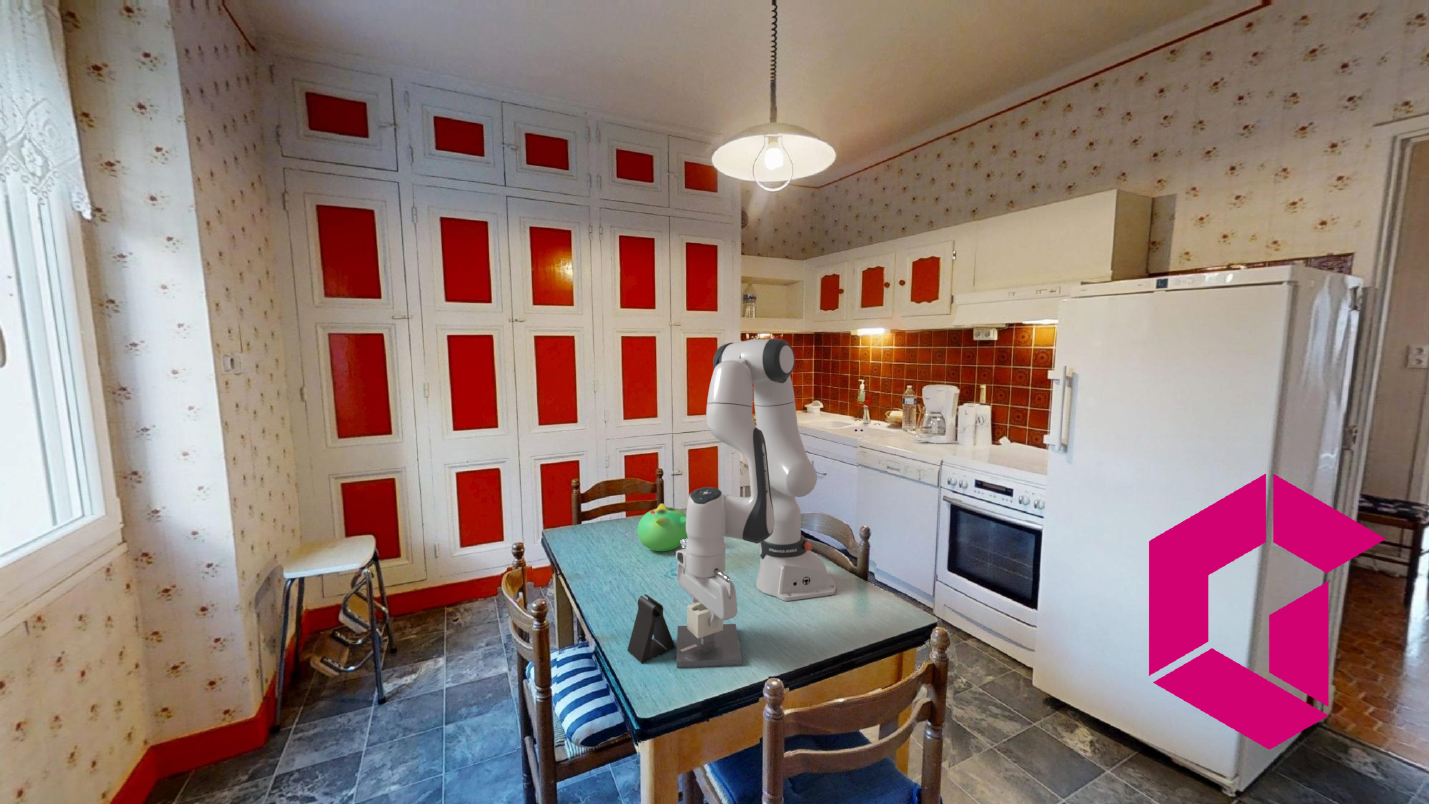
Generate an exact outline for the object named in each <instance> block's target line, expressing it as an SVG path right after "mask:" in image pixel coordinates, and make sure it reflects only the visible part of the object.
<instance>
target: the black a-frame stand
mask: <svg viewBox="0 0 1429 804" xmlns="http://www.w3.org/2000/svg"><path fill="white" fill-rule="evenodd" d="M636 612H637V613H636V617H635V620H634V624H633V626H632V631H631V636H630V639H629V643H628V646H627V649H626V650H627V652H628V653H629V654H631V655H632V657H634V658H635V659H636V660H637V661H638V662H640V663H641V664H645V663H647V662H649V661H651V660H653V659H656V658H658V657H659V656H662V655H665V654H666V653H669V652H671V651H672V650H675V648H676V644H675V643H674V640H673V637H672V635H671V632H670V629H669V627H668V624H667V622H666V620H665V616H664V606H663V604H661V603H660V602H658V601H657V600H655V599H654V598H652V597H651V596H649V595H648V594H646V593H645V594H644V596H643V595H640V596H639V597H638V600H637V611H636Z"/></svg>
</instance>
